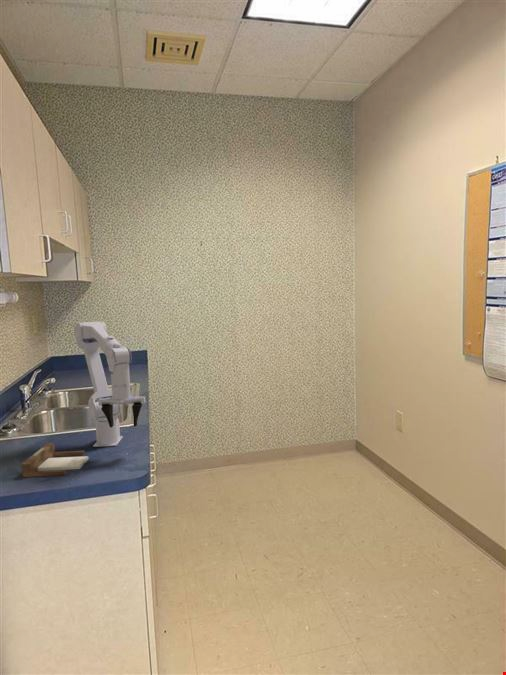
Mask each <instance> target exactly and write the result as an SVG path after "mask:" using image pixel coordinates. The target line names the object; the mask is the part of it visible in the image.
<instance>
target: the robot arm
mask: <svg viewBox="0 0 506 675" xmlns="http://www.w3.org/2000/svg"><path fill="white" fill-rule="evenodd" d="M107 331H108V328H107V324H106V322H104V321H103V320H100V321H86V322H79V321H78V322H76V324H75V325H74V337H75V340H76V344H77V347H78V348H79V349H80V350H83V354H84V357H85V361H86V365H87V369H88V372H89V377H90V381H91V384H92V387H93V388H92V389H93V394H92V395H91V396H90V397H89V399H88V413H89V416H90V418H91V419H92V420H94V421H95V433H96V434H95V435H96V442H95V443H94V444H93V446H92V447H93V448H100V447H116V446H118V444H119V443H120V442H121V440H122V439H123V435H121V430H120V428H121V426H120V421H119V416H120V414H121V413H122V410H123V409H122V408H123V407H122V406H123V405H129V404H130V405H131V404H132V406H131V409H132V416H133V427H137V425H138V421H139V416H140V412H141V409H142V406H143V405H144V404H146V396H137V395H135V396H133V395H132V393H131V392H132V391H131V377H130V376H131V375H130V364H131V363H132V359H133V358H132V351H131V349H130V347H129V346H127V345H126V346H125V345H124V346H123V345H122V344H120V342H119V341H118V340H117V339H116V338H115V337H114V336H113V335H108V334H109V333H108V332H107ZM99 348H100V350H101V351H102V352H103V354H104V355H105V356H106V362H107V365H108V371H109V372H110V379H111V380H110V381H111V389H110V388H109V386H108V382H107V379H106V374H105V371H104V366H103V363H102V359H101V355H100V352H99V351H100V350H99Z"/></svg>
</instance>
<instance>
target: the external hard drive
mask: <svg viewBox="0 0 506 675" xmlns="http://www.w3.org/2000/svg"><path fill="white" fill-rule="evenodd" d="M88 460H89V456H85V455H83V456H59V457H52V458H48V459H47V460H46V461H44V462H43V463H42V464H41V465H40V466H39V467H38V468H37V469H38V471H55V470H66V471H68V470H69V471H71V470H80V469H81V468H82V467H83V466H84V464H86V462H87V461H88Z"/></svg>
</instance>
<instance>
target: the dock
mask: <svg viewBox="0 0 506 675" xmlns="http://www.w3.org/2000/svg"><path fill="white" fill-rule="evenodd" d="M55 448H56V447H55V443H51V442H50V443H46V444H44V445H43V446H42V447H41V448H39V449H38V450H37V451H35V452H34V453H33V454H32V455H31V456H29V457H28V458H27V459H26V460H24V461H23V462H22V463H21V470H22V473H21V474H22V477H23V478H28V477H29V478H32V477H47V476H49V477H51V476H65V475H66V474H67V470H51V471H38V469H37V468H38V467H39V466H40V465H41V464H42V463H43V462H44V461H46V460H47V459H48V458H55V457H71V456H85V450H69V451H67V450H65V451H56V449H55Z"/></svg>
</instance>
